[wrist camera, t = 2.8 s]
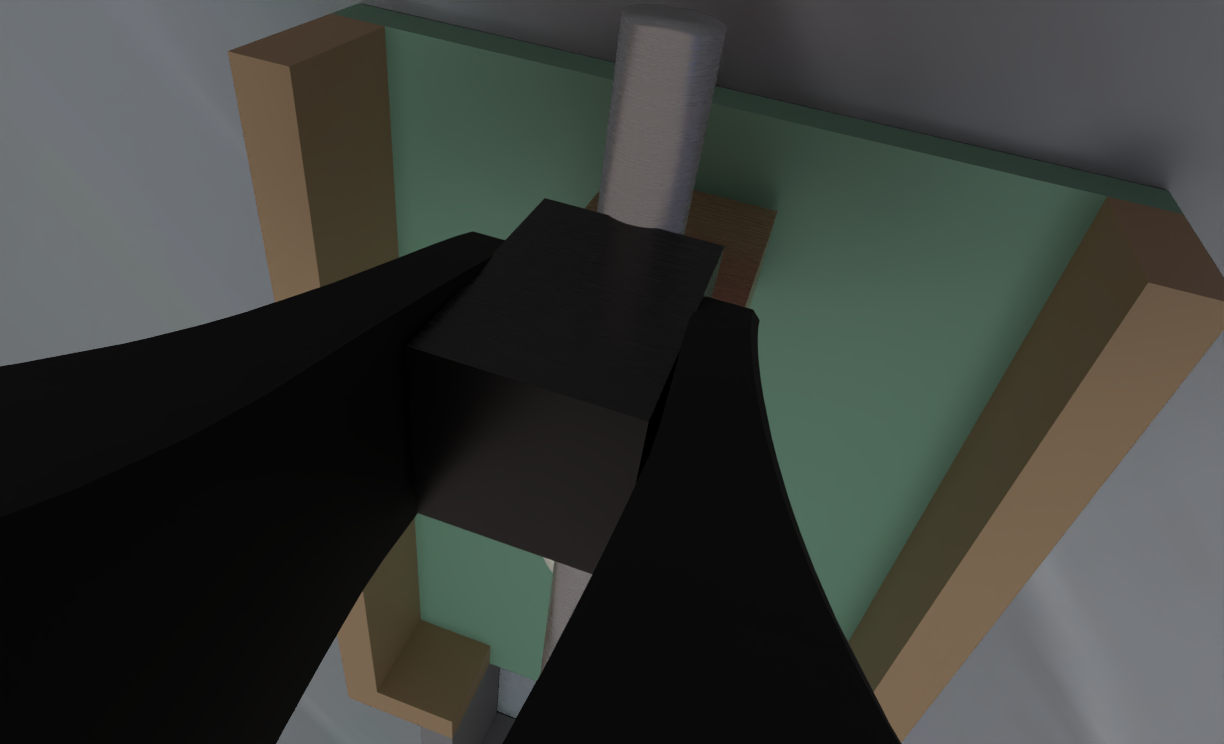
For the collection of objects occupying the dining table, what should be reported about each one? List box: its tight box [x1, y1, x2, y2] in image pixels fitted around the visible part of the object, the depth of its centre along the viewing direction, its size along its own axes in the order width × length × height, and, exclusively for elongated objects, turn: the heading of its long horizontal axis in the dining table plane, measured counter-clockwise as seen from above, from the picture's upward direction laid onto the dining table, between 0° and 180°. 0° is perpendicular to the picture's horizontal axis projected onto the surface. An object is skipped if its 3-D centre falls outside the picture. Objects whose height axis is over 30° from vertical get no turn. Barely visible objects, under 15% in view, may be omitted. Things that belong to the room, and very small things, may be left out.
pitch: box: [228, 4, 1224, 744], centre depth 22 cm, size 29×16×4 cm, turn 172°
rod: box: [406, 5, 778, 674], centre depth 15 cm, size 20×3×8 cm, turn 172°
